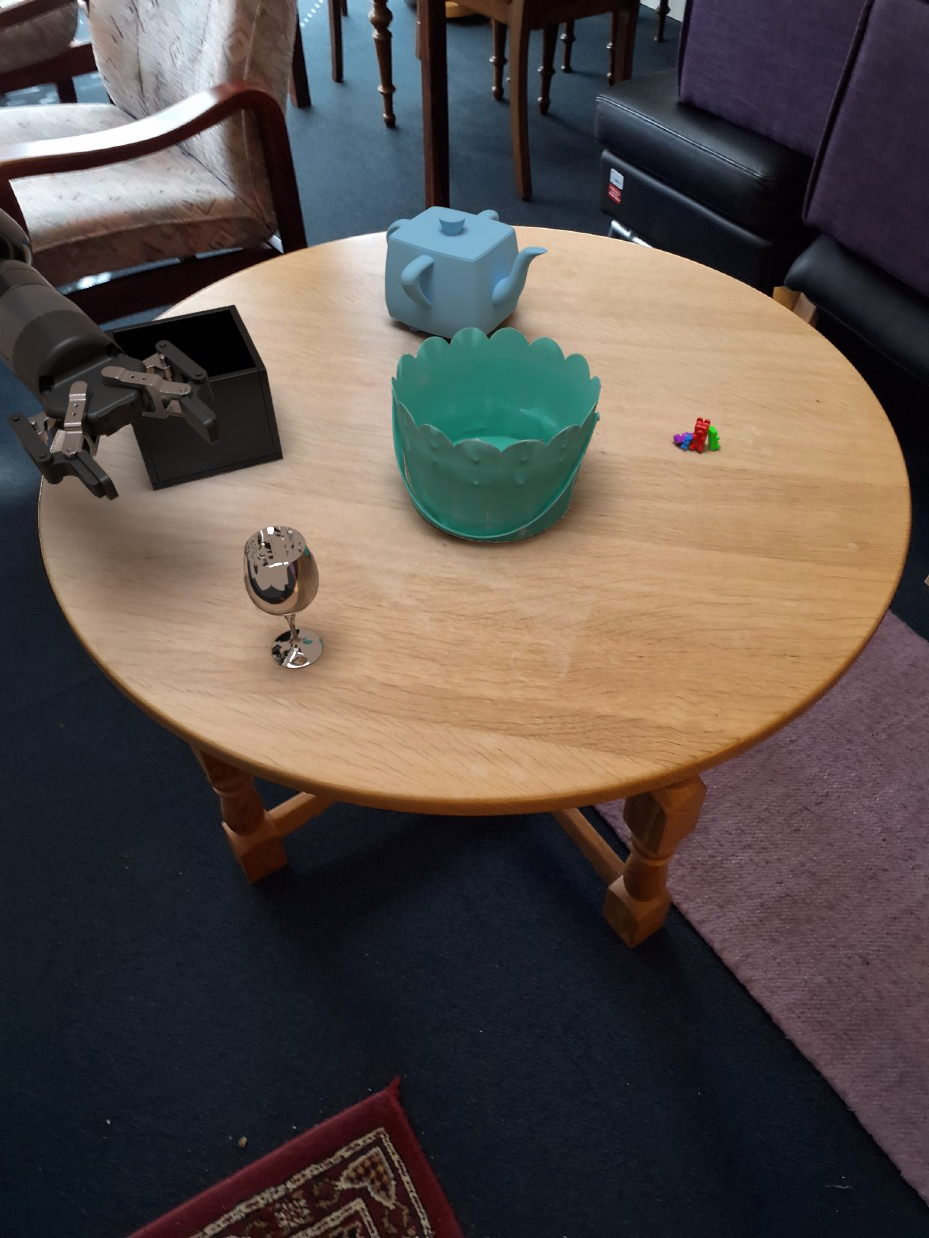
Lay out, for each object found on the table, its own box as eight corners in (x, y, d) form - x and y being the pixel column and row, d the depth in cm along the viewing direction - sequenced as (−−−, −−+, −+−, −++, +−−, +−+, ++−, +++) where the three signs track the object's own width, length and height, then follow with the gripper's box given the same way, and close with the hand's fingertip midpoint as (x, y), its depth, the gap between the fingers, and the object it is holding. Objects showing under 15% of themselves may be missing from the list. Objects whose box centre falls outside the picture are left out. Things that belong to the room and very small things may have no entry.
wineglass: (250, 663, 76) (221, 560, 67) (284, 616, 79) (261, 513, 70) (310, 683, 74) (289, 581, 65) (342, 634, 78) (326, 532, 69)
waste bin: (153, 490, 91) (123, 400, 83) (132, 418, 100) (103, 330, 92) (283, 458, 95) (266, 369, 87) (252, 391, 103) (234, 304, 95)
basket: (612, 467, 93) (629, 357, 84) (538, 576, 83) (547, 465, 73) (452, 417, 99) (450, 309, 90) (363, 512, 89) (351, 401, 79)
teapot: (392, 360, 107) (384, 251, 97) (383, 293, 118) (375, 188, 108) (541, 350, 109) (549, 241, 99) (519, 284, 120) (523, 180, 110)
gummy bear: (669, 447, 96) (674, 419, 93) (676, 433, 97) (682, 406, 95) (715, 459, 94) (722, 432, 92) (721, 445, 96) (728, 417, 93)
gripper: (-49, 353, 66) (55, 474, 60) (121, 275, 72) (235, 378, 65) (-6, 427, 73) (94, 544, 66) (148, 350, 78) (254, 451, 71)
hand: (163, 462), depth 65 cm, fingers open, 8 cm apart
